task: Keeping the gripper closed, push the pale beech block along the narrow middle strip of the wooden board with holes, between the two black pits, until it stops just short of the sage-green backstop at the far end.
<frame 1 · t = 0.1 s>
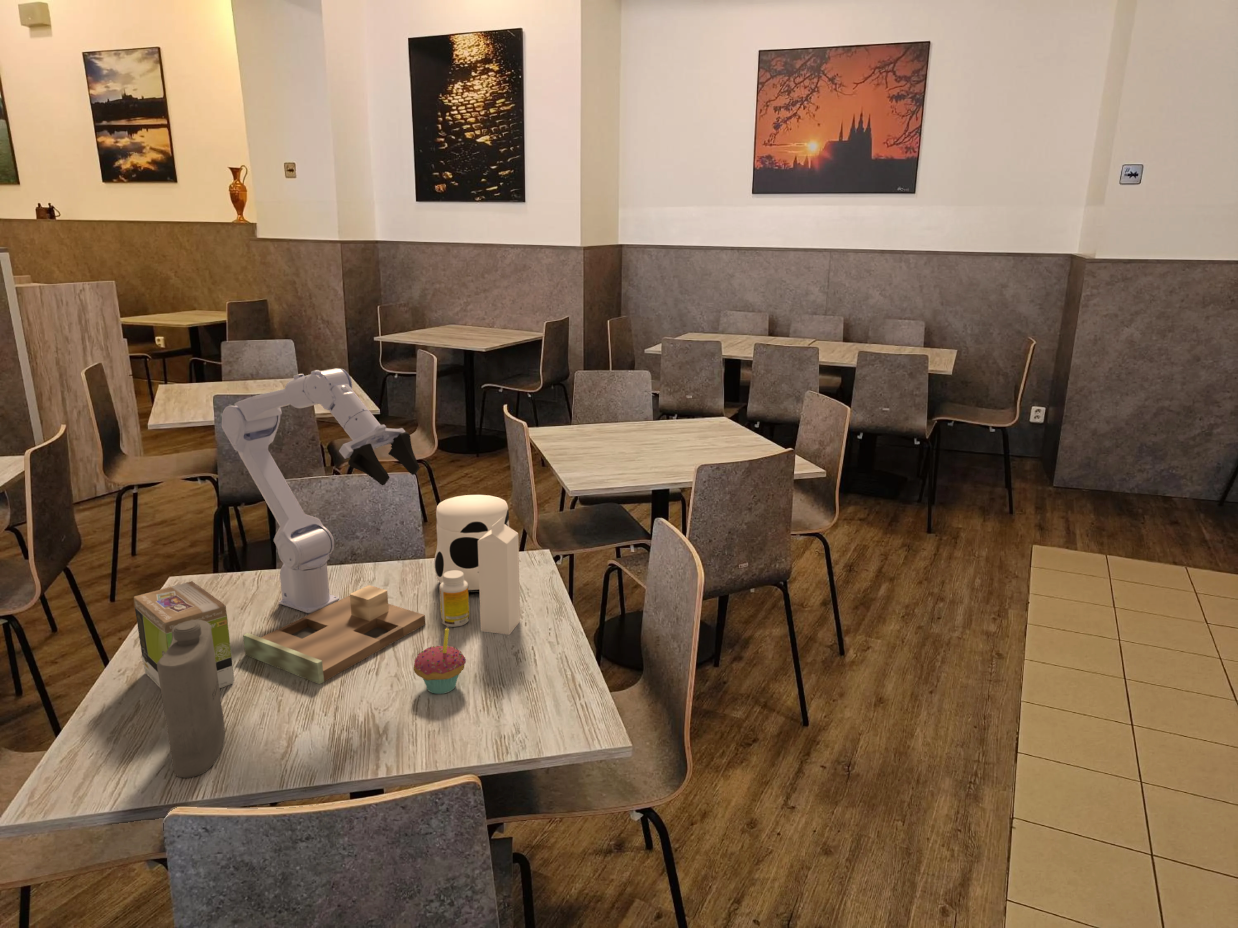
hand: (401, 476, 147), 32 cm above the table, tool tilted 50°, fingers open, 7 cm apart
wooden board with holes: (341, 637, 154), on the table
tea box: (189, 679, 140), on the table
milk: (500, 627, 160), on the table
supplement bottle: (455, 622, 161), on the table
flask: (202, 748, 121), on the table
cupcake: (440, 687, 138), on the table
block: (370, 613, 160), point 2 cm above the table, touching wooden board with holes
milk container: (475, 582, 180), on the table
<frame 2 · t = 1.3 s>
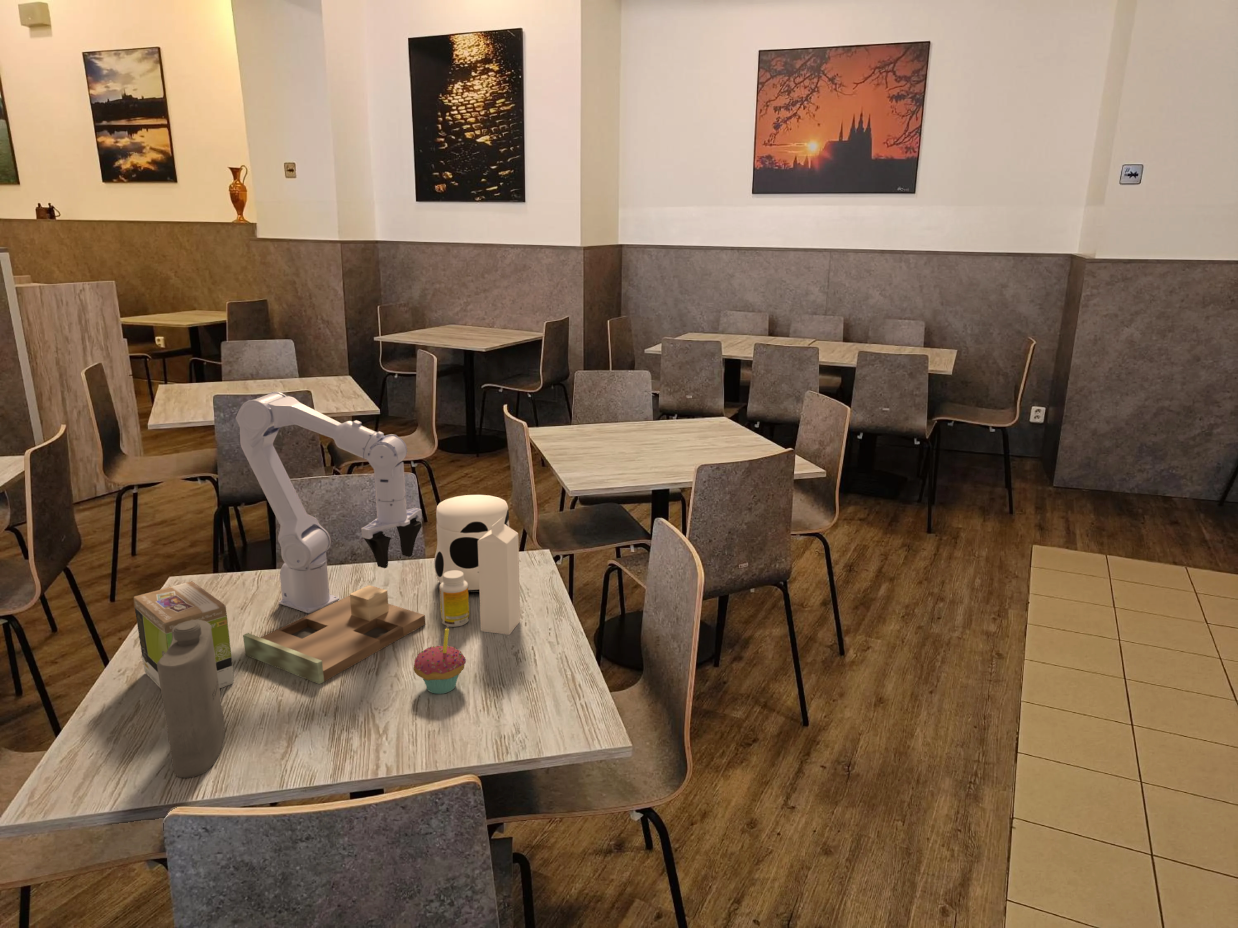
hand: (395, 561, 164), 10 cm above the table, tool pointing down, fingers open, 6 cm apart
nothing on the table moved.
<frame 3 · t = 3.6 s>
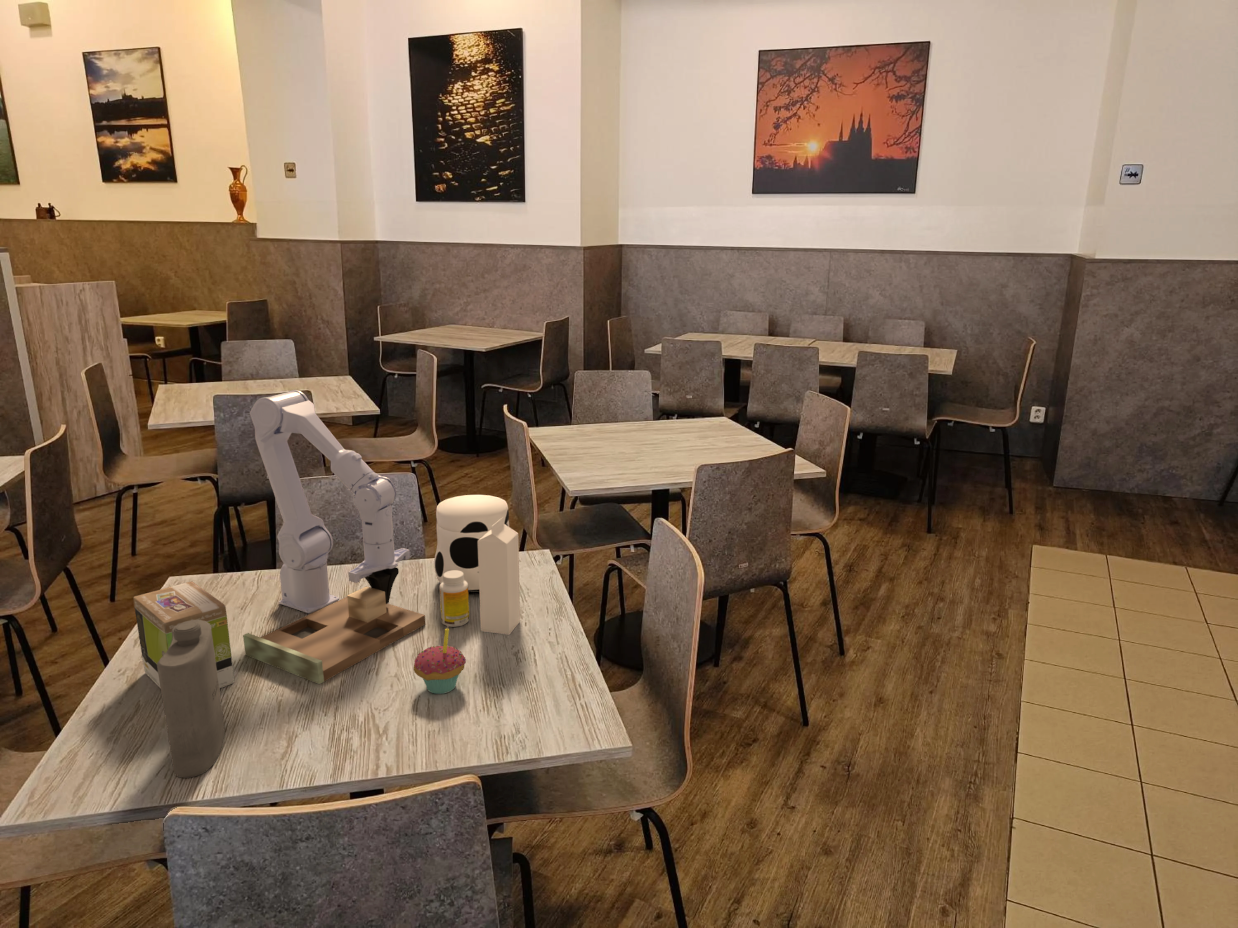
hand: (382, 602, 163), 3 cm above the table, tool pointing down, fingers closed
block: (367, 614, 159), point 2 cm above the table, touching gripper
everything else where it was.
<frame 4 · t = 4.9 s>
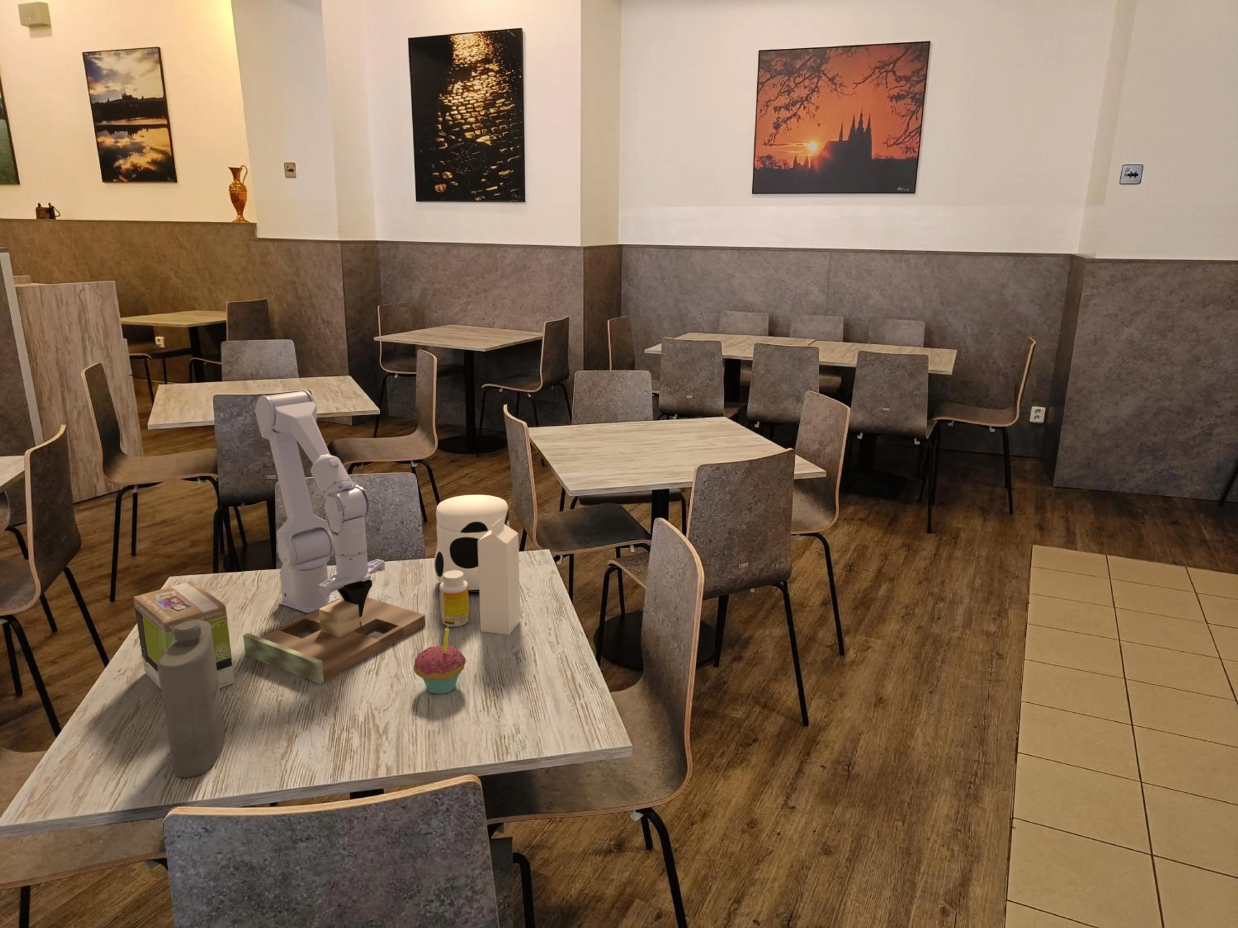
hand: (356, 616, 157), 3 cm above the table, tool pointing down, fingers closed
block: (340, 628, 153), point 2 cm above the table, touching gripper
everything else where it was.
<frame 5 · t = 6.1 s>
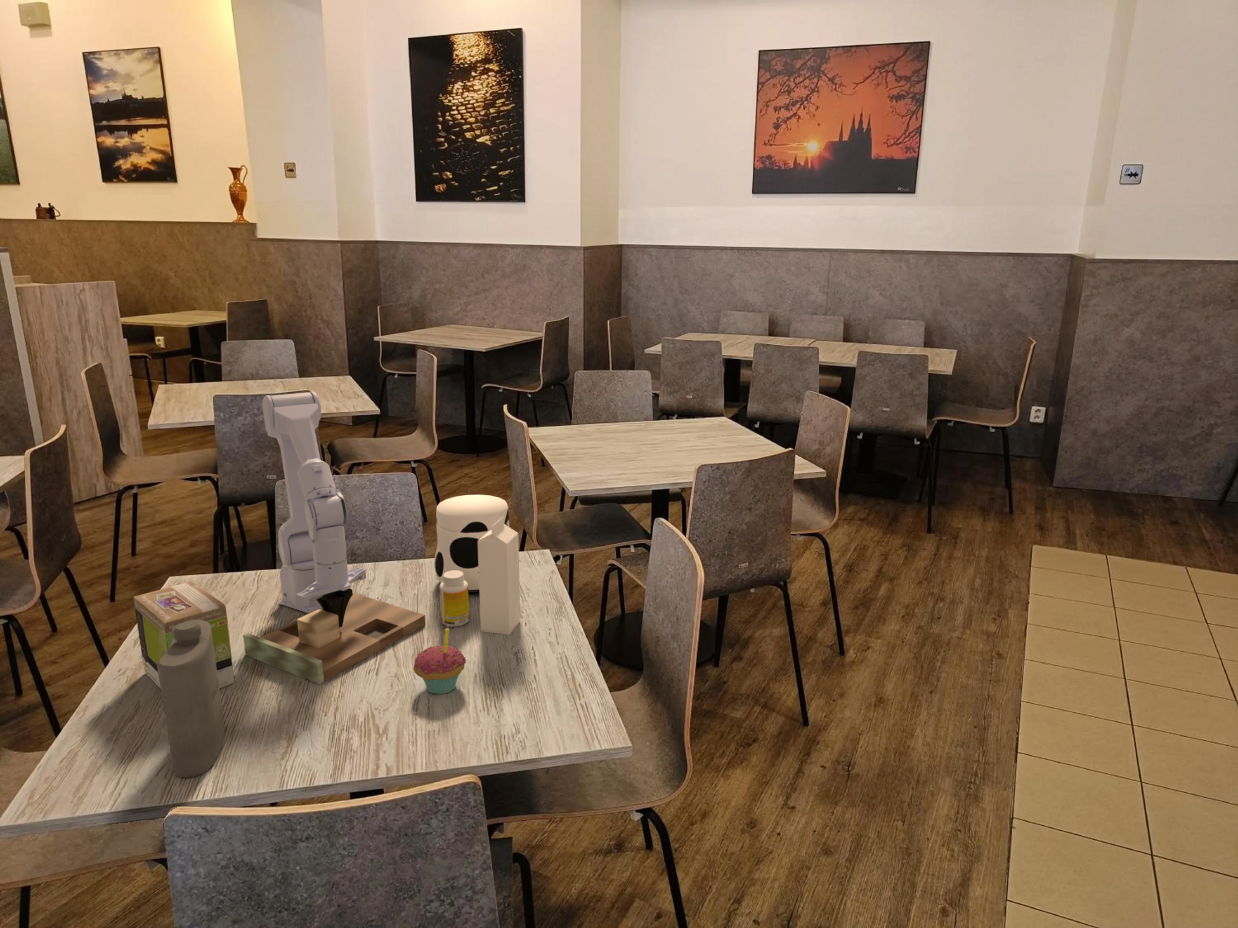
hand: (336, 626, 153), 3 cm above the table, tool pointing down, fingers closed
block: (319, 639, 149), point 2 cm above the table, touching gripper
everything else where it was.
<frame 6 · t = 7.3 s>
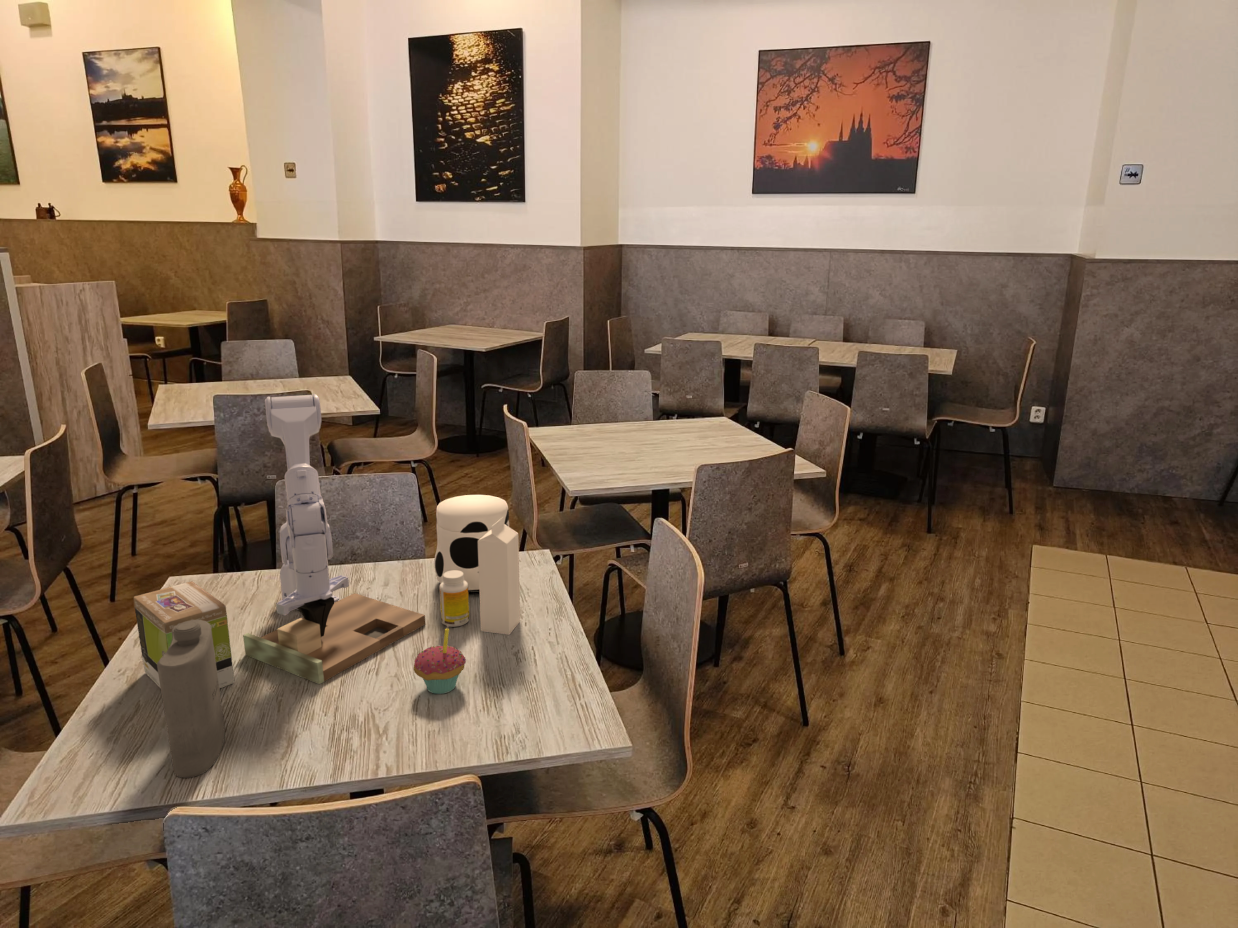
hand: (317, 635, 149), 3 cm above the table, tool pointing down, fingers closed
block: (300, 649, 146), point 2 cm above the table, touching wooden board with holes, gripper
everything else where it was.
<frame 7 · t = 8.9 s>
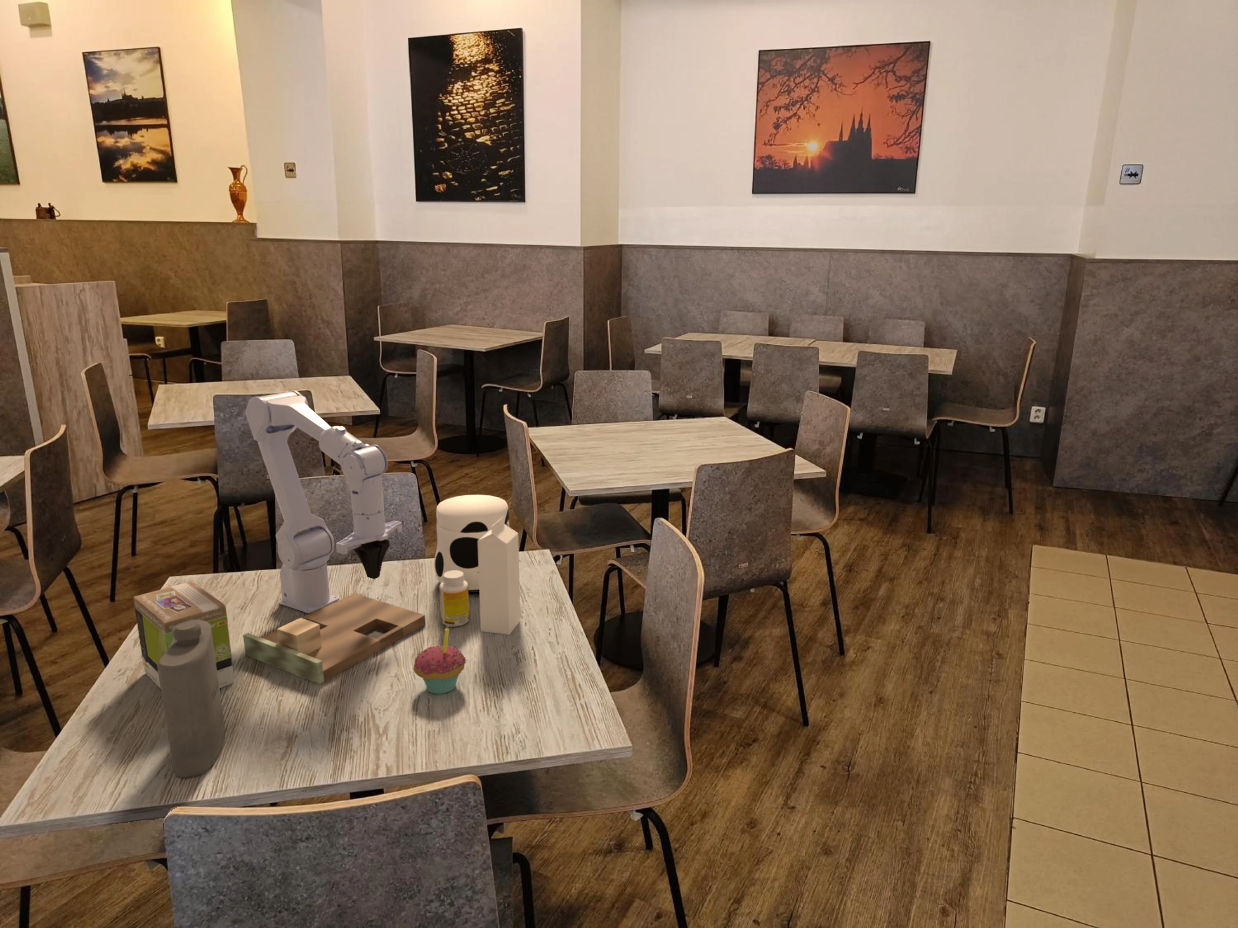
hand: (373, 576, 156), 10 cm above the table, tool pointing down, fingers closed
block: (300, 649, 146), point 2 cm above the table, touching wooden board with holes
everything else where it was.
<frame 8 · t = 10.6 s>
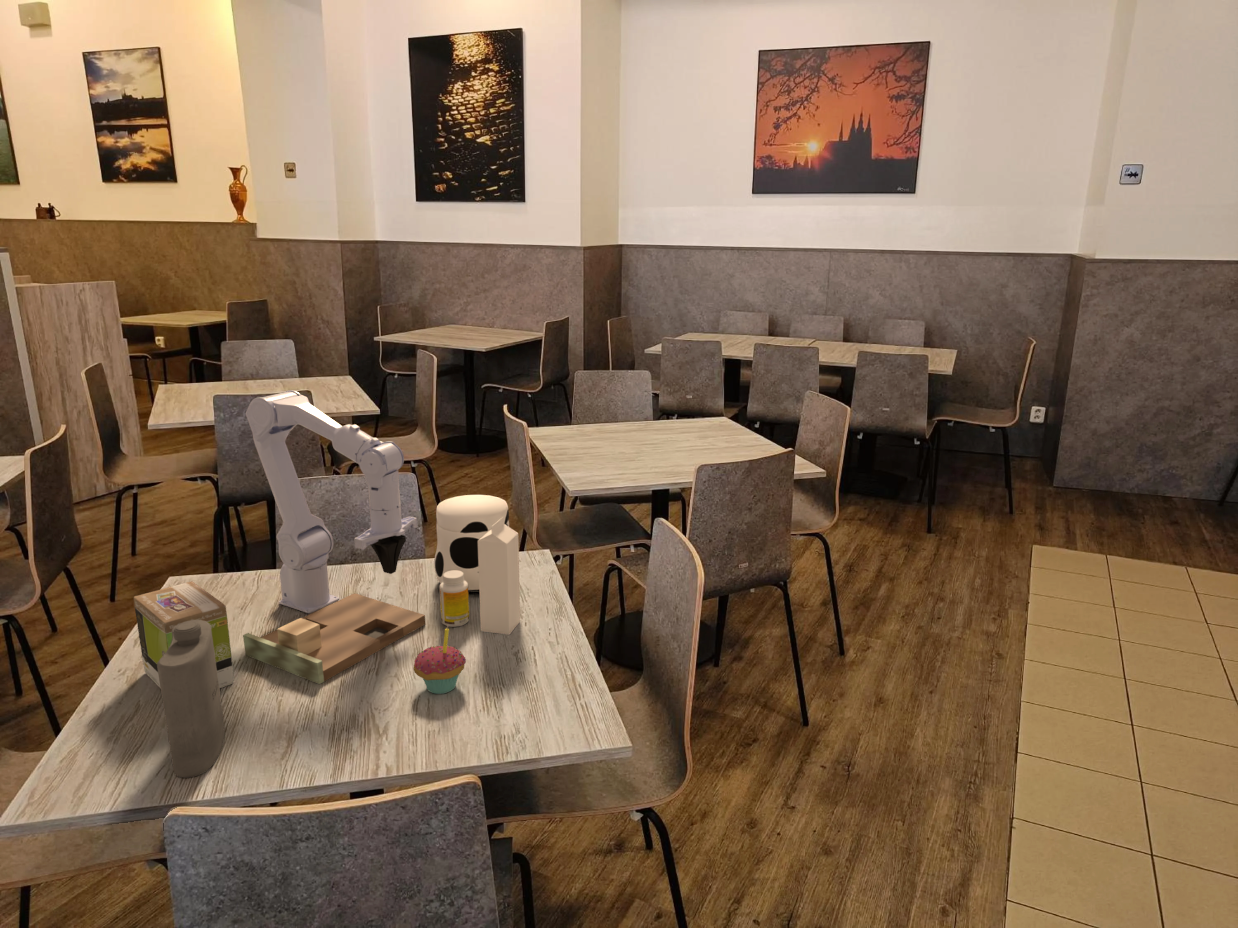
hand: (389, 571, 159), 10 cm above the table, tool pointing down, fingers closed
nothing on the table moved.
at the end: block 0.6 cm from the target spot, point 2.0 cm above the table; block point 2.0 cm above the table; block tilted 0° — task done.
